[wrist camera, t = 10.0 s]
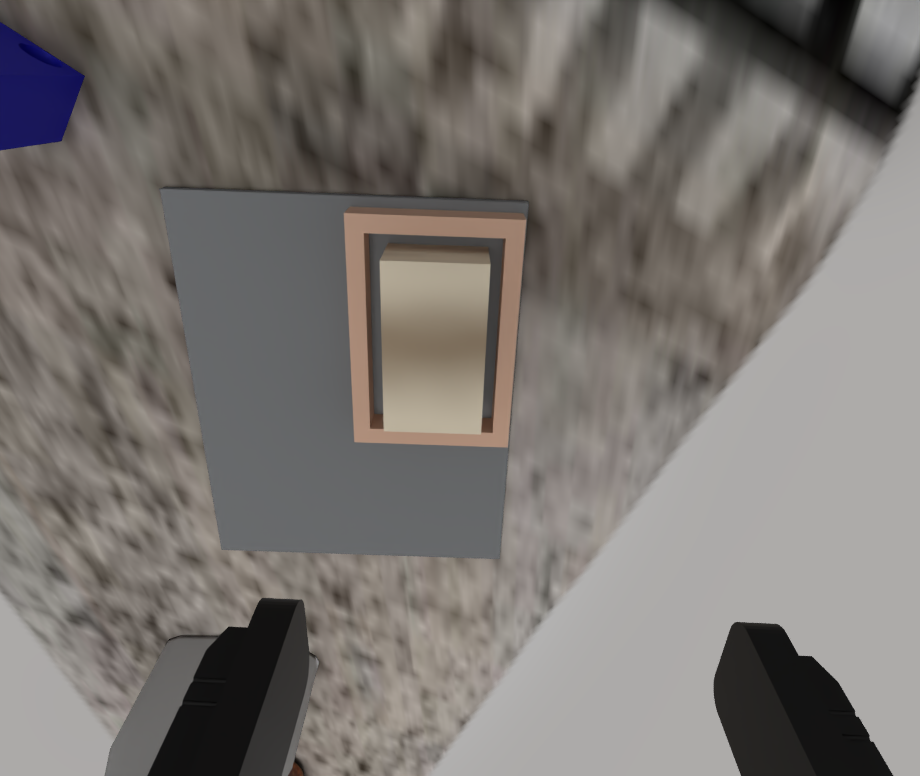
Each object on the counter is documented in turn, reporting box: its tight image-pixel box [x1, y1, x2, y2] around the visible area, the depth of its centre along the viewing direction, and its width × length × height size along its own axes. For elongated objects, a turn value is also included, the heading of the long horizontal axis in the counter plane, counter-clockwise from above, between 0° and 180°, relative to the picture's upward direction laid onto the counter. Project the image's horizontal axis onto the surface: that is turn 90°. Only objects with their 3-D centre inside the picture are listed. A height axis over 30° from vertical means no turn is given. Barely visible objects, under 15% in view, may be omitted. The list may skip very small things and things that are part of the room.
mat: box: [160, 187, 529, 559], centre depth 32 cm, size 20×16×1 cm
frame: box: [344, 207, 526, 448], centre depth 29 cm, size 11×8×2 cm
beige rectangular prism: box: [380, 243, 491, 435], centre depth 28 cm, size 8×4×3 cm, turn 178°
